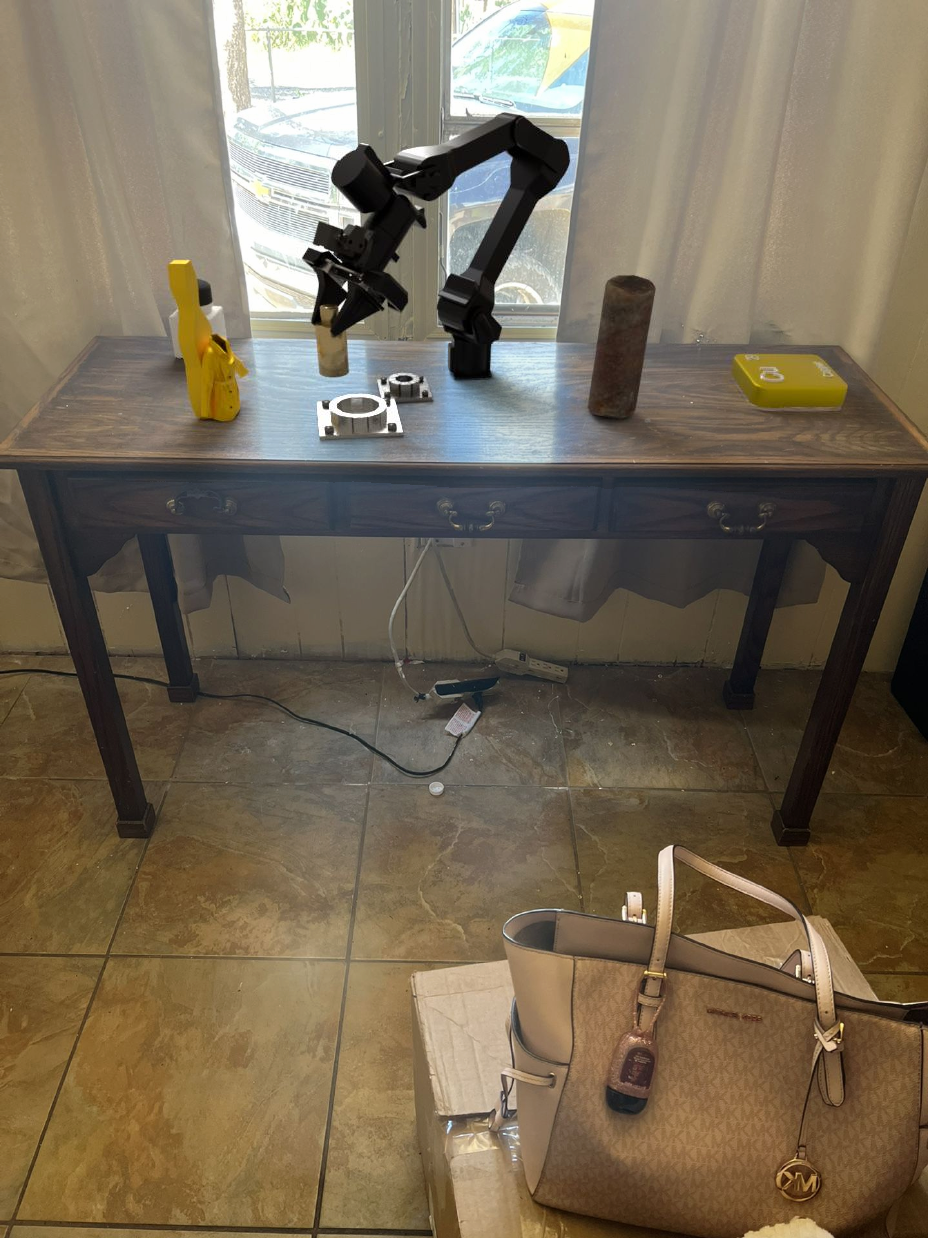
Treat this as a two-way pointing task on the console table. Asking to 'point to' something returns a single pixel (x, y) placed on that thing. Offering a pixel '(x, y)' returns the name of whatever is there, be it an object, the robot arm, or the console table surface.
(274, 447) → the console table surface
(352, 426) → the flange large
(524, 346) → the console table surface
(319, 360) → the gold metal cylinder
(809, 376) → the element tile
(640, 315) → the rusty brown cylinder
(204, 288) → the medicine bottle
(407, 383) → the flange small
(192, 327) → the yellow tall sculpted piece
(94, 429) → the console table surface
